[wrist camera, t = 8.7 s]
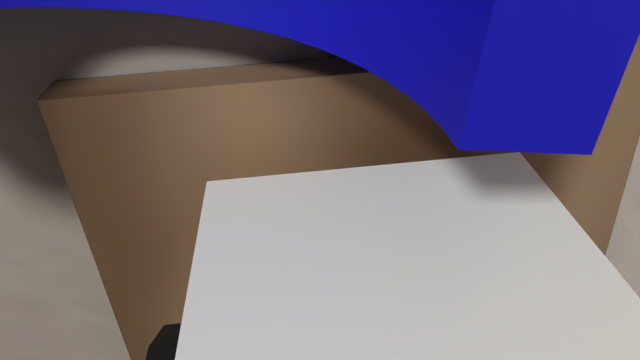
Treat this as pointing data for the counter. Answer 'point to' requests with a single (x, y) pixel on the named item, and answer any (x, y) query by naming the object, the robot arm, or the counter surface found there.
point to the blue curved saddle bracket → (456, 57)
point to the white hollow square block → (402, 269)
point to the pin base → (262, 159)
